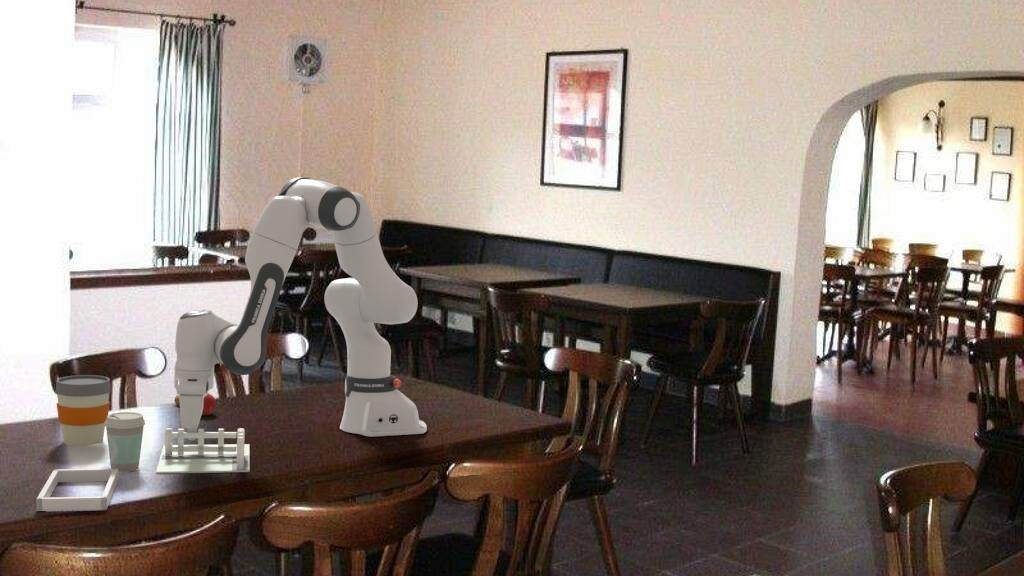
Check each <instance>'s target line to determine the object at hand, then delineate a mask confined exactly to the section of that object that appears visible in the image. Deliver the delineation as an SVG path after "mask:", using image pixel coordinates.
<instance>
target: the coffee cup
mask: <svg viewBox="0 0 1024 576" xmlns="http://www.w3.org/2000/svg"><path fill="white" fill-rule="evenodd" d="M145 425H146V420H145V419H144V416H143V414H142V413H139V412H131V411H123V412H115V413H110V414H108V416H107V419H106V421H105V427H106V428H105V430H106V437H107V447H108V455H109V456H108V457H109V463H110V469H113V468H118V473H129V472H130V473H131V472H134V471H137V470H138V469H139V467H140V459H141V449H142V442H143V436H144V435H143V433H144V427H145Z"/></svg>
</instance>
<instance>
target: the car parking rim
mask: <svg viewBox="0 0 1024 576" xmlns="http://www.w3.org/2000/svg"><path fill="white" fill-rule="evenodd" d="M118 481H119V472H118V468H113V469H111V468H71V469H70V468H67V469H66V468H59V469H56V468H55V469H53V470H52V473H51V474H50V475H49V477H48V479H47V480H46V482H45V484H44V485H43V487H42V489H41V491H40V492H39V494H38V496H37V497H36V507H35V508H36V510H35V511H46V512H76V511H77V512H78V511H79V512H83V511H87V512H88V511H107V510H108V507H109V505H110V502H111V499H112V497H113V494H114V491H115V489H116V486H117V483H118ZM77 482H78V483H81V482H107V483H106V486H105V488H104V490H103V493H102V495H101V496H99V495H97V496H59V497H58V496H57V497H55V496H52V494H53V493H54V491H55V489H56V487H57V485H58V483H77ZM52 492H53V493H52ZM62 510H63V511H62ZM67 510H68V511H67ZM72 510H73V511H72Z"/></svg>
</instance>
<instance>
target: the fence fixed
mask: <svg viewBox="0 0 1024 576" xmlns="http://www.w3.org/2000/svg"><path fill="white" fill-rule="evenodd" d="M236 432H237V438H236V444H237V469H238V470H242V469H244V444H245V440H244V436H245V437H246V432H245V431H244V430H238V429H237V431H236Z"/></svg>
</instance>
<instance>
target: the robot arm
mask: <svg viewBox="0 0 1024 576" xmlns="http://www.w3.org/2000/svg"><path fill="white" fill-rule="evenodd" d="M310 226H311V227H317V228H322V229H326V230H327V231H330V232H331V234H332V235H331V236H332V239H333V245H334V248H335V251H336V256H337V259H338V264H339V266H340V268H341V269H342V271H344V273H346V274H347V275H349V276H350V277H347V278H339V279H335V280H333V281H331V282H330V283H329V285H328V286H327V287H326V289H325V293H324V298H323V299H324V304H325V305H324V306H325V308H326V310H327V312H328V313H329V314H330V315H331V316H332V317H333V318H334V319H335V320H336V322H337V323H338V325H339V326H340V328H341V331H342V333H343V335H344V339H345V342H346V351H347V353H346V355H347V373H346V374H345V380H344V395H345V402H344V403H345V404H344V410H343V415H342V417H341V418H342V419H341V422H340V424H339V425H340V426H339V429H340V430H341V431H343V432H345V433H351V434H357V435H361V436H365V437H386V436H387V437H388V436H402V435H404V436H405V435H420V434H424V433H426V432H427V431H428V426H427V424H426V422H424V420H421V419H420V418H419V411H418V408H417V406H416V404H415V403H414V402H413V401H412V400H411V399H410V398H409V397H407V396H406V394H404V393H402V392H401V391H400V390H399V389H398V388H400V387H401V386H402V381H401V380H400V379H399V378H397V376H394V375H393V374H391V361H392V360H391V356H392V349H391V345H390V344H389V342H388V340H386V339H385V337H383V336H381V335H380V334H379V332H378V331H377V329H376V325H375V324H384V325H399V324H405V323H408V322H410V321H411V320H412V319H413V318H414V316H415V315H416V313H417V310H418V304H419V303H418V301H419V300H418V297H417V294H416V292H415V290H414V288H412V286H410V285H408V284H407V283H405V282H404V281H403V280H402V279H400V277H399V276H398V275H397V274H396V273H395V271H394V270H393V269H392V268H391V266H390V265H389V263H388V261H387V259H386V257H385V255H384V252H383V249H382V245H381V242H380V237H379V234H378V230H377V226H376V221H375V218H374V215H373V214H372V210H371V207H370V205H369V203H368V201H367V199H366V198H365V196H363V195H362V194H361V193H359V192H356V191H350V190H348V189H347V188H345V187H343V186H339V185H336V184H333V183H331V182H328V181H325V180H317V179H313V178H310V177H301V176H299V177H295V178H291V179H290V180H289V181H287V182H286V183H285V184H284V186H283V187H282V188H281V190H280V192H279V194H278V195H276V196H274V197H273V198H270V199H269V200H268V203H267V204H266V205H265V207H264V209H263V210H262V212H261V213H260V216H259V218H258V220H257V221H256V224H255V225H254V228H253V231H252V233H251V235H250V237H249V240H248V244H247V247H246V252H245V258H244V262H245V266H246V268H247V271H248V273H249V277H250V284H251V285H250V293H249V296H248V299H247V302H246V304H245V308H244V311H243V312H242V317H241V319H240V322H239V324H238V323H234V322H231V321H228V320H226V319H224V318H222V317H220V316H218V315H217V314H215V312H213V311H211V310H209V309H196V310H192V311H188V312H185V313H183V314H182V315H181V316H180V317H179V319H178V321H177V326H176V332H175V344H174V345H175V348H174V349H175V353H176V360H175V364H174V376H173V377H174V379H173V388H174V389H175V391H176V394H177V395H179V401H180V405H179V414H180V415H179V416H180V424H181V427H182V428H181V429H187V432H198V430H197V429H199V428H198V427H199V426H200V425H199V424H200V421H201V418H202V416H203V415H202V411H203V401H204V397H205V396H207V395H208V393H209V391H210V390H212V389H213V388H214V381H215V380H214V377H215V365H216V364H222V365H224V367H225V368H226V369H227V370H228V371H229V372H231V374H234V375H238V376H247V375H251V374H253V373H255V372H257V371H258V370H259V369H261V368H262V366H263V364H264V363H265V361H266V358H267V336H268V330H269V328H270V325H271V322H272V318H273V315H274V312H275V309H276V307H277V303H278V301H279V297H280V294H281V291H282V287H283V285H284V283H285V279H286V277H287V274H288V272H289V269H290V267H291V265H292V263H293V261H294V258H295V256H296V253H297V250H298V248H299V246H300V242H301V239H302V237H303V233H304V232H305V231H306V230H307V229H308V227H310ZM196 439H197V438H187V440H189V441H195V440H196Z"/></svg>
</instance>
